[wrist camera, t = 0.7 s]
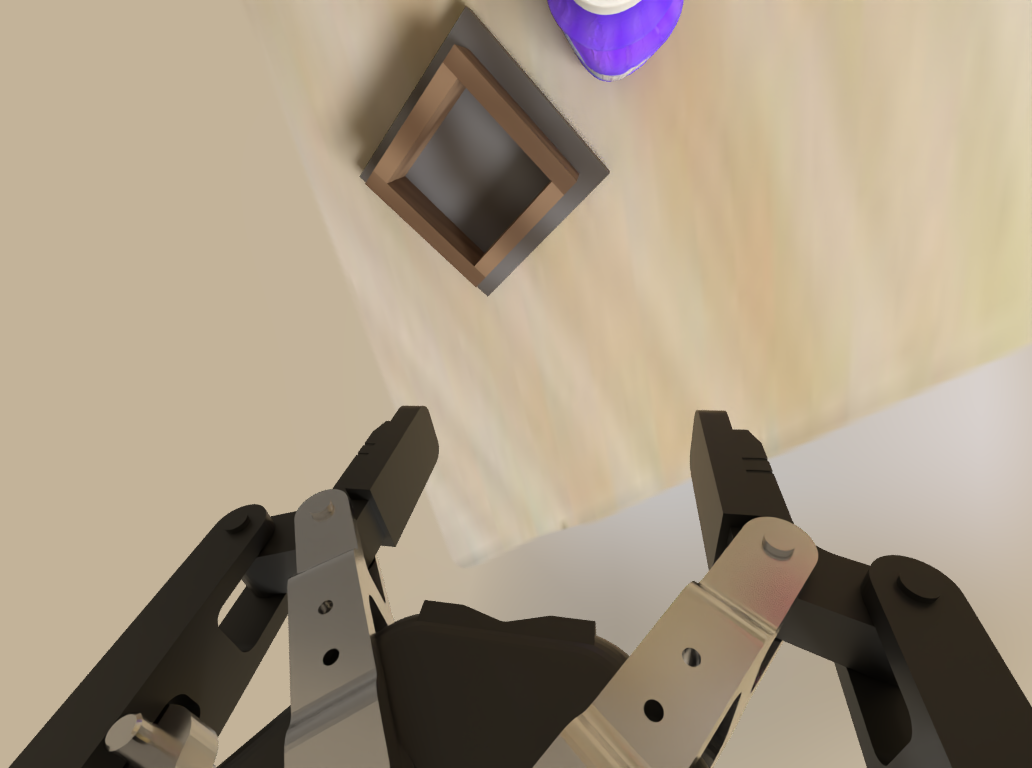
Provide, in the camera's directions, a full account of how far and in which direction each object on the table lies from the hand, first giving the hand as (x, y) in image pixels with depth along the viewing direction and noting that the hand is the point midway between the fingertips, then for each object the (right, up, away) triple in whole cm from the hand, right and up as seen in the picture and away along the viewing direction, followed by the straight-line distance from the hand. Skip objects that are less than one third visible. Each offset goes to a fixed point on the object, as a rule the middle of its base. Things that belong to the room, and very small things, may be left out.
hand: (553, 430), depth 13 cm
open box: (-4, +18, +21) cm, 28 cm away
